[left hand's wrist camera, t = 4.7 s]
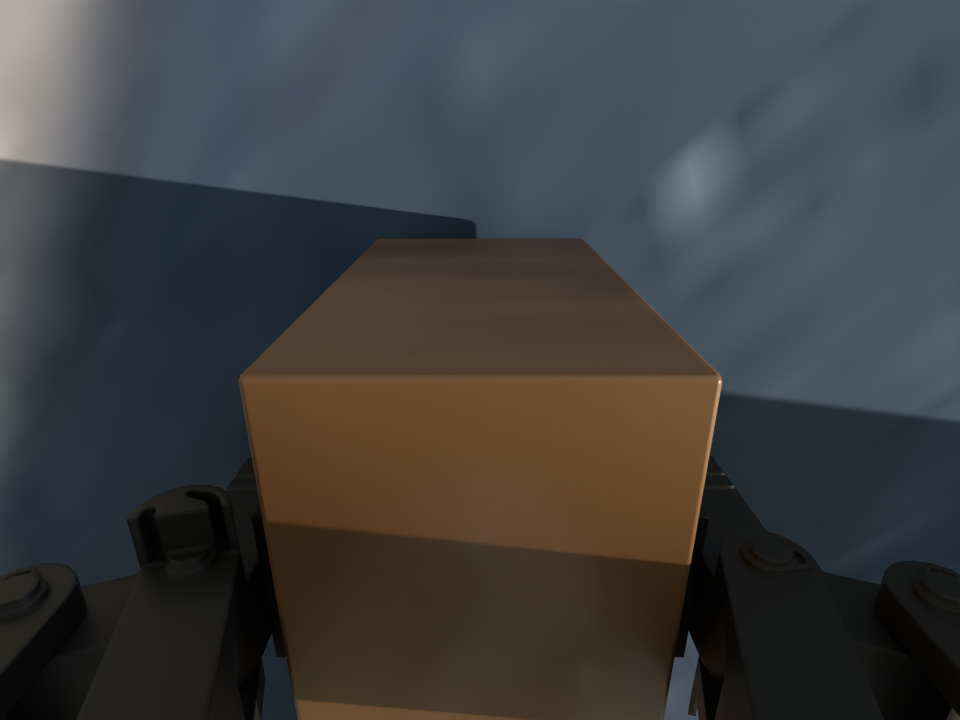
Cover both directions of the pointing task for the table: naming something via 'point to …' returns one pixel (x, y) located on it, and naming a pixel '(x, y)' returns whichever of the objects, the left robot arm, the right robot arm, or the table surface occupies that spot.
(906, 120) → the table surface
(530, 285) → the post
